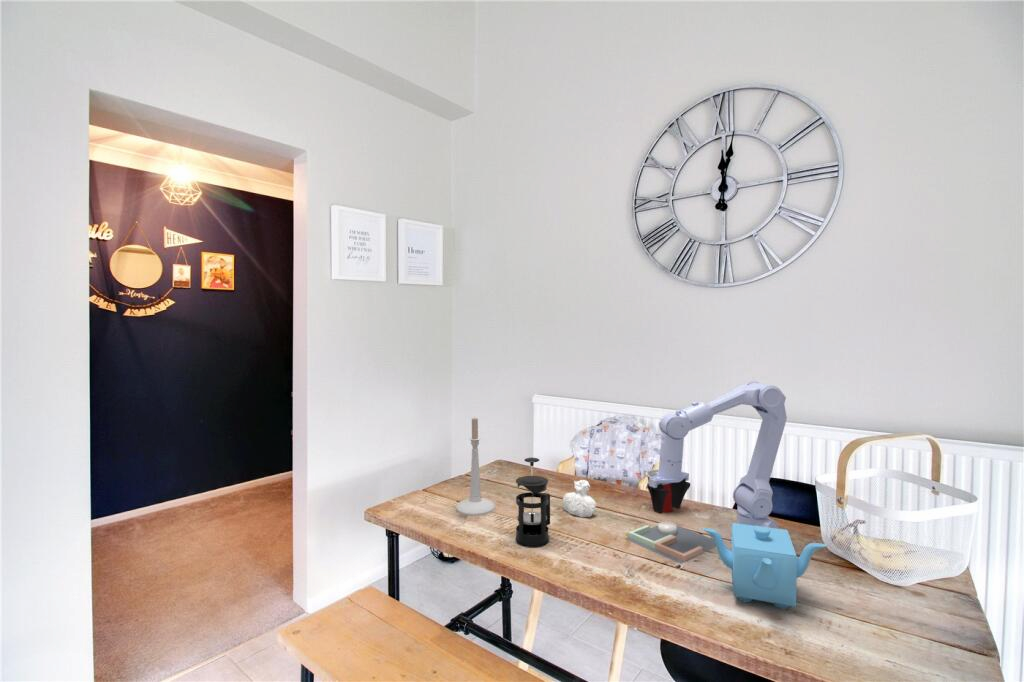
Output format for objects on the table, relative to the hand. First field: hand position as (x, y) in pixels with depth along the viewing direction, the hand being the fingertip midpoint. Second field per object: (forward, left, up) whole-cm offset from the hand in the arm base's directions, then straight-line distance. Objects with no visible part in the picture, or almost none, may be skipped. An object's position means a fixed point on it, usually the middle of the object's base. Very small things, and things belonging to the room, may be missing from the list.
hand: (666, 509), depth 136 cm
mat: (+1, -4, -11) cm, 11 cm away
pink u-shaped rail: (-3, 0, -11) cm, 11 cm away
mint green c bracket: (+6, 0, -11) cm, 12 cm away
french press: (+26, +25, -11) cm, 37 cm away
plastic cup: (+17, -21, -11) cm, 29 cm away
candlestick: (+56, +25, -11) cm, 62 cm away
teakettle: (-27, +3, -11) cm, 29 cm away
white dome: (+6, -8, -10) cm, 14 cm away
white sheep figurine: (+32, +1, -11) cm, 34 cm away
